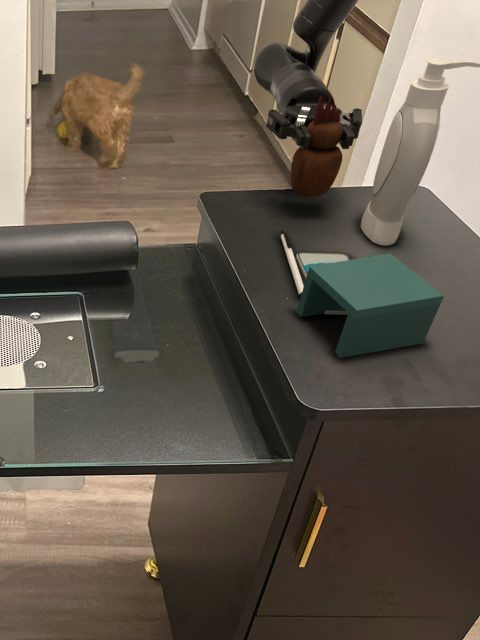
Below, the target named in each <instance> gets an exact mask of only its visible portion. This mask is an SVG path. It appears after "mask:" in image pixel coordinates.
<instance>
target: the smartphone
mask: <svg viewBox="0 0 480 640" xmlns="http://www.w3.org/2000/svg"><path fill="white" fill-rule="evenodd" d="M295 260H296V263H297V265H298V266H299V268H300V270H301V272H302V274H303V278H304V279H305V280H306V277H307V275H308V270H309V267H310V266H315V265H321V264H328V263H334V262H340V261H346V260H351V259H350V257H349V256H348V255H347V254H346V253H339V252H338V253H337V252H335V253H334V252H305V251H304V252H301V251H300V252H297V253H296V255H295ZM348 314H349V313H348V312H347V311H346V310H345V309H344V308H337V309H330V310H326V311H325V313H324V315H334V316H335V315H337V316H338V315H339V316H340V315H341V316H348Z"/></svg>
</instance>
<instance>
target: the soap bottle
mask: <svg viewBox="0 0 480 640" xmlns="http://www.w3.org/2000/svg"><path fill="white" fill-rule="evenodd" d="M426 63H427V65H426V67H425V71H424V73H423V74H420V75H419V76H418V79H414V80H412V81H411V83H410V85H409V88H408V91H407V94H406V98H405V101H404V102H403V104H402V105H401V106H400V108H399V109H398V111H397V112H396V113H395V114H394V116H393V119H392V121H391V123H390V126H389V128H388V132H387V134H386V137H385V139H384V143H383V146H382V150H381V153H380V157H379V161H378V164H377V167H376V171H375V174H374V179H373V184H372V194H371V198H370V201H369V203H368V204H367V206H366V208H365V210H364V213H363V215H362V217H361V220H360V229H361V231H362V232H363V234H364V235H365V236H366V237H367V238H368V239H369V240H370V241H371V243H374V244H376V245H377V246H382V247H385V246H392V245H393V244H395V243H396V241H397V239H398V238H399V236H400V233H401V230H402V226H403V222H404V217H405V215H404V214H405V212H406V209H407V207H408V205H409V203H410V201H411V199H412V197H413V196H414V195H415V193H416V191H417V190H418V187H419V186H420V183H421V182H422V179H423V177H424V175H425V173H426V170H427V168H428V165H429V163H430V161H431V159H432V158H431V157H432V156H433V153H434V149H435V147H436V143H437V140H438V136H439V132H440V127H441V110H442V106H443V103H444V101H445V97H446V95H447V92H448V90H449V84H448V83H447V82H446V77H444V72H445V70H453V69H459V68H464V67H468V68H469V67H471V68H479V69H480V62H477V61H473V60H446V59H442V58H429V59H427V60H426Z"/></svg>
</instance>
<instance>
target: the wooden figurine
mask: <svg viewBox="0 0 480 640" xmlns="http://www.w3.org/2000/svg"><path fill="white" fill-rule="evenodd" d="M331 102H332V98H329V100H328V103H327V105H326V107H325V109H324V112H323V97H322V96H320V98H319V102H318V105H317V109H316V113H315V117H314V121H313V122H311V123H310V124H309V126H308V127H307V129H308V131H309V133H310V135H311V138H310V143H309V147H308V149H302V148H301V146H298V148H297V149H296V150H295V152H294V154H293V155H292V160H291V165H290V185H291V188H292V189H291V190H292V191H293V192H294V193H295V194H297V195H299V196H304V197H321V196H323V195H325V194H326V193H327V192H328V191H329V190H330V189H331V188H332V186H333V185H334V183H335V181H336V179H337V177H338V174H339V173H340V169H341V168H342V167H341V166H342V163H343V152H342V151H341V148H340V147H339V146H338V144H339V142H340V140H341V138H342V135H343V127H342V125H341V123H340V109H341V108H339V109H338V110H337V111H336V107H337V105H336V104H335V105H333V107H332V109H331Z"/></svg>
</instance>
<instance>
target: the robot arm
mask: <svg viewBox="0 0 480 640" xmlns="http://www.w3.org/2000/svg"><path fill="white" fill-rule="evenodd" d="M358 2H359V0H307V1H306V2H305V3H304V5H303V6H302V7H301V9H300V10H299V12H298V13H297V15H296V16H295V18H294V20H293V22H292V30H293V32H294V33H295V35H296V36H298V37H299V38H300V39H301V40H302V41H304V42H305V44H306V45H307V46H306V48H305V50H304V51H301V50H300V49H296V48H294V47H293V46H290V45H288V44H286V43H283V42H279V41H275V42H270V43H268V44H265V46H263V47H262V48H261V49H260V50H259V52H258V53H257V55H256V56H255V59H254V61H253V66H252V67H253V68H252V75H253V78H254V80H255V81H256V83H257V84H258V85H259V86H260V87H261V88H263V89H264V90H265V91H266V92H268V93H269V94H270V95H272V96H273V99H274V100H275V103H276V108H277V109H269V110H268V114H267V119H266V123H265V128H267V129H268V130H269V131H270V132H272V133H273V134H274V136H275V137H277V138H278V139H280V140H286V139H287V138H291V141H294V142H295V144H296V146H298V147H300V146H301V148H302V149H308V147H309V143H310V138H311V135H310V133H309V131H308V129H307V127H308V126H309V124H310V123H311V122H313V121H314V117H315V113H316V109H317V105H318V102H319V98H320V96H322V97H323V112H324V109H325V107H326V105H327V103H328V100H329V98H332V102H331V109H332V107H333V105H336V101H335V99H334V96H333V94H332V93H331V91H330V90H329V88H328V87H327V85H326V84H325V82H324V81H323V79H322V78H320V77H319V76H318V75H317V74H316V73H317V71H318V68H319V66H320V63H321V60H322V58H323V56H324V54H325V52H326V50H327V47H328V46H329V44H330V42H331V41H332V39H333V37H334V35H335V34H336V33H337V31H338V30H339V28H340V27H341V26H342V24H343V23H344V22H345V20H346V19H347V17H349V15H350V14H351V12H353V10H354V8H355V6H356V5H357V3H358ZM338 109H340V123H341V125H342V127H343V135H342V138H341V140H340V142H339V143H338V144H339V146H340V147H341V149H342V150H349V149H350V147H352V146H353V143H354V141H355V140H357V139H358V138H359V135H360V130H361V127H362V124H363V110H362V108H358V107H357V108H353V109H352V110H351V111H349V112H343V111H342V109H341V108H339V107H337V106H336V111H337V110H338Z"/></svg>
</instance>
